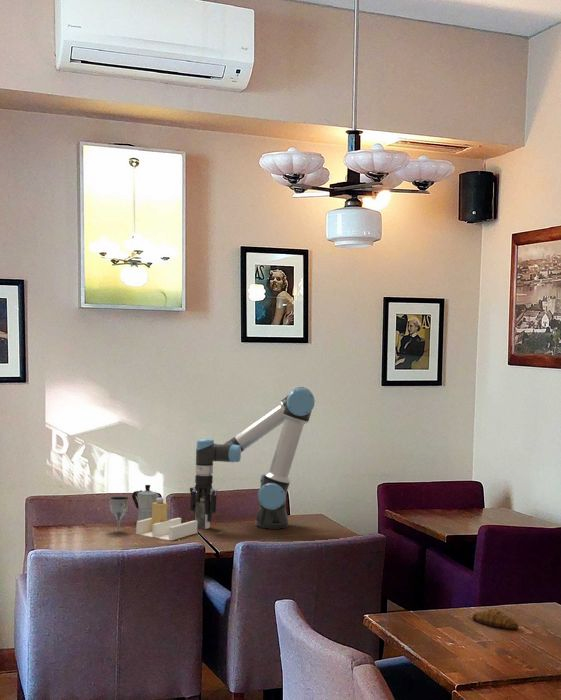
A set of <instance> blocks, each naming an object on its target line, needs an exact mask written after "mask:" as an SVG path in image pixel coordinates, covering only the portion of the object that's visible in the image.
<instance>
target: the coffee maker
mask: <svg viewBox="0 0 561 700" xmlns="http://www.w3.org/2000/svg"><path fill="white" fill-rule="evenodd" d="M144 486H145V490H143V489H141V490H136V491H133V493H132V495H131V497H132V498H131V499H132V500H133V502H134V506H135V507H136V509H139V511H138V517H137V521H140V520H144V519H149V518H152V503H156V498H159V495H158V492H157V491H156V492H155V491H153V490H151V489H150V488H151V484H145V485H144Z"/></svg>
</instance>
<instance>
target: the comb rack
mask: <svg viewBox="0 0 561 700" xmlns="http://www.w3.org/2000/svg"><path fill="white" fill-rule="evenodd" d="M197 523H198V521H196V520H191V521H186V522H183V523H182V518H181V517H176V518H170V519H167V521H163V522H159V523H156V524H153V531H152V532H151V526H152V518H149V519H144V520H140V521H138V520H137V521H136V529H135V531H136V533H135V535H139V536H140V535H141V536H145V537H150V538H156V539H161V540H166V541H167V540H168V541H175V540H177V539H181V538H184V537H185V538H186V537H188V536H191V535H194V534H198V528H197Z"/></svg>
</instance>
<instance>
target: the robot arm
mask: <svg viewBox="0 0 561 700" xmlns="http://www.w3.org/2000/svg"><path fill="white" fill-rule="evenodd" d="M315 402H316V399H315V397H314V394H313V393H312V391H311V390H310V389H308V388H307V387H304V386H302V387H301V386H299V387H295V388H294V389H292V390H291V391H290V392H289V394H287V395H286V396H285V397H284V398H283V399H282V400H280V402H279V404H278V405H277V406H275V407H274V408H273V409H271V410H270V411H269V412H267V413H266V414H264V415H263V416H261V417H259V419H257V420H256V421H254V422H253V423H252V424H250V425H249V426H247V427H246V428H244V430H242V431H240V432H239V433H238V434H236V435H235V436H234V437H232V438H231V439H229V440H228V441H226V442H225V443H223V444H222V443H219V444H218V443H215V441H214V439H211V438H200V439H198V440H197V441H196V449H195V451H196V452H195V474H196V475H195V477H194V479H195V481H194V482H195V485H194V486H193V487H190V488H189V492H190V503H189V504H190V507H189V508H190V509H189V510H190V511H191V512H193V519H194V520H195V517H196V502H200V497H204V499H205V503H206V511H207V513H206V514H205V529H204V530H207V529H210V528H211V522H212V514H215V513H216V511H217V495H218V492H219V491H218V490H215V489H214V488H213V485H212V484H213V481H214V480H213V479H214V475H213V473H214V462H224V463H225V462H226V463H239V462H241V459H242V452H244V451H245V450H247V448H250V447H251V446H252V445H253V444H255V443H256V442H258V441H259V440H260V439H262V438H263V437H265V436H266V435H267V434H269V433H271V432H272V431H273V430H274V429H277V427H280V425H282V424H283V425H282V427H281V431H280V434H279V436H278V437H279V438H278V441H277V444H276V448H275V451H274V452H273V453H274V454H273V458H272V461H271V463H270V467H269V469H268V471H267V472H265V473H264V474H262V475H261V477H260V479H259V480H260V487H259V490H258V492H257V498H258V502H259V510H258V512H257V516H256V518H255V524H256V525H257V526H259V527H258V528H260V527H262V529H266V528H268V529H269V530H280V528H282V529H286V528H285V527H287V528H289V527H288V526H290V520H289V517H288V513H287V509H286V504H287V503H286V502H287V493H288V489H289V487H290V484H291V483H290V482H291V481H290V479H289V475H290V470H291V468H292V464H293V460H294V458H295V455H296V452H297V448H298V445H299V441H300V440H301V439H300V438H301V435H302V432H303V428H304V426H305V424H307V423H309V421H310V419H311V416H312V415H311V414H312V411H313V409H314V408H315ZM256 525H255V526H256ZM257 526H256V527H257Z"/></svg>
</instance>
